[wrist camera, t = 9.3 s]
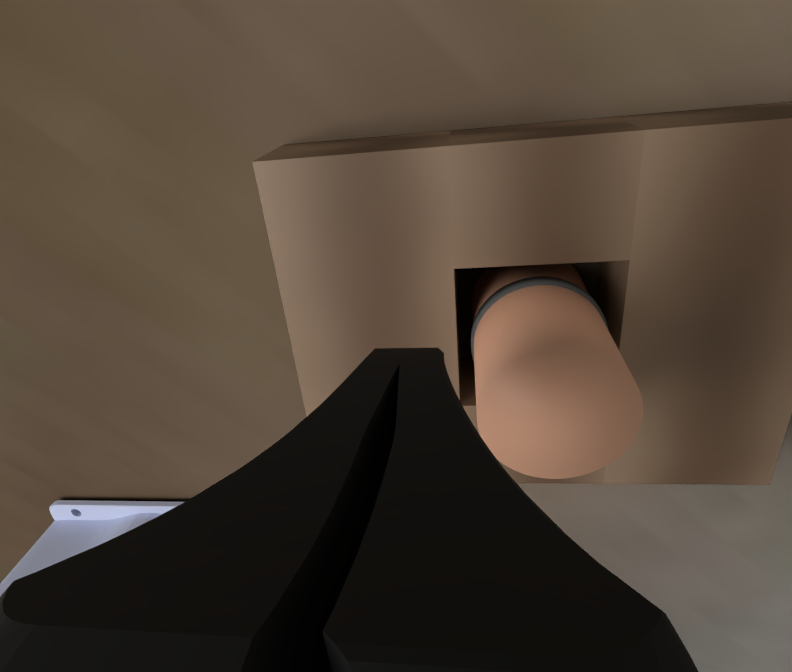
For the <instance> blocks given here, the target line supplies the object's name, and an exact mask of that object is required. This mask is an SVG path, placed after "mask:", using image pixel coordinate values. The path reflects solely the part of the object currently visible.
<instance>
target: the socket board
mask: <svg viewBox="0 0 792 672" xmlns="http://www.w3.org/2000/svg"><path fill="white" fill-rule="evenodd" d="M253 167H254V171H255V176H256V181H257V185H258V190H259V195H260V200H261V204H262V209H263V214H264V218H265V223H266V228H267V232H268V237H269V242H270V247H271V251H272V256H273V261H274V265H275V270H276V275H277V279H278V284H279V289H280V294H281V298H282V303H283V308H284V312H285V317H286V322H287V326H288V331H289V336H290V341H291V345H292V350H293V355H294V359H295V364H296V369H297V373H298V378H299V383H300V388H301V392H302V397H303V402H304V406H305V411H306V416H308V415H309V414H310V413H312V412H313V411H314V410H315V409H316V408H317V407H318V406H319V405H320V404H322V403H323V402H324V401H325V400H326V399H327V398H328V397H329V396H330V395H331V393H332V392H333V391H334V390H335V389H336V388H337V387H338V386H339V385H340V384H341V383H342V382H343V381H344V380H345V379H346V378H347V377H348V376H349V375H350V374H351V373H352V372H353V371H354V370H355V369H356V368H357V366H358V365H359V364H360V363H361V362H362V361H363V360H364V359H365V358H366V357H367V356H368V355H369V354H370V353H371V352H372V351H373V350H374V349H375V348H439V349H440V350H441V351H442V352H443V353H444V362H445V366H446V369H447V373H448V375H449V378H450V380H451V383H452V385H453V388H454V390H455V392H456V394H457V396H458V398H459V400H460V402H461V404H462V406H463V408H464V410H465V411H466V413H467V415H468V417H469V418H470V420H471V422H472V423H473V425H474V427H475V428H476V430H477V431H478V433H479V430H478V426H477V411H476V389H475V367H474V361H473V360H472V361H460V347H459V324H458V300H457V277H456V269H461V268H481V267H502V266H522V265H543V264H563V263H584V262H602V265H601V276H600V287H599V298H598V306H599V308H600V309H601V311H602V313H603V315H604V318H605V320H606V323H607V326H608V331H609V333H610V335H611V336H612V338H613V340H614V342H615V344H616V346H617V348H618V350H619V352H620V353H621V355H622V357H623V359H624V361H625V363H626V365H627V367H628V369H629V371H630V372H631V374H632V376H633V378H634V380H635V382H636V384H637V386H638V388H639V390H640V393H641V396H642V400H643V419H642V423H641V427H640V429H639V432H638V434H637V436H636V438H635V439H634V441H633V442H632V444H631V445H630V446H629V447H628V449H627V450H626V451H625V452H624V453H623V454H622V455H621V456H619V457H618V458H617V459H616V460H614V461H613V462H611V463H610V464H608V465H606V466H605V467H603V468H601V469H599V470H596V471H594V472H591V473H588V474H585V475H582V476H577V477H572V478H565V479H546V478H538V477H533V476H529V475H525V474H522V473H520V472H517V471H515V470H513V469H511V468H509V467H507V466H506V465H504V464H503V463H501V462H500V461H499V460H498V461H499V463H500V464H501V465H502V466H503V468H504V469H505V470H506V471H507V473H508V474H509V475H510V476H511V477H512V479H513V480H514V481H515V482H516V483H591V484H738V485H769V484H770V481H771V478H772V475H773V472H774V468H775V465H776V462H777V459H778V456H779V452H780V449H781V446H782V443H783V440H784V437H785V433H786V430H787V427H788V424H789V421H790V418H791V414H792V102H784V103H772V104H760V105H748V106H737V107H725V108H713V109H701V110H689V111H678V112H666V113H654V114H642V115H631V116H619V117H607V118H595V119H584V120H572V121H560V122H548V123H536V124H525V125H513V126H501V127H489V128H478V129H466V130H454V131H442V132H431V133H419V134H407V135H395V136H383V137H372V138H360V139H348V140H336V141H325V142H313V143H301V144H289V145H283V146H281V147H279V148H277V149H275V150H273V151H272V152H270V153H268V154H266V155H264V156H262V157H261V158H259V159H257V160H255V161H253ZM479 435H480V434H479Z"/></svg>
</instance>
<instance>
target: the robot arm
mask: <svg viewBox="0 0 792 672" xmlns="http://www.w3.org/2000/svg"><path fill="white" fill-rule="evenodd" d="M49 510H50V513H51V515H52V516H53V518H54V520H55V521H54V522H53V523H52V524H51V526H50V527H49V528H48V529H47V530H46V531H45V532H44V534H43V535H42V536H41V537H40V538H39V539H38V541H37V542H36V543H35V544H34V545H33V546H32V548H31V549H30V550H29V551H28V552H27V553H26V555H25V556H24V557H23V558H22V559H21V560H20V562H19V563H18V564H17V565H16V566H15V567H14V568H13V570H12V571H11V572H10V573H9V574H8V575H7V577H6V578H5V579H4V580H3V581H2V582H1V584H0V672H698V670H697V668H696V666H695V665H694V663H693V661H692V659H691V657H690V655H689V653H688V651H687V650H686V648H685V646H684V644H683V643H682V641H681V639H680V637H679V636H678V634H677V632H676V631H675V629H674V627H673V625H672V624H671V622H670V620H669V619H668V617H667V615H666V614H665V613H664V612H663V611H662V610H660V609H659V608H658V607H656V606H655V605H654V604H652V603H651V602H650V601H648V600H647V599H646V598H644V597H643V596H642V595H640V594H639V593H638V592H636V591H635V590H634V589H632V588H631V587H630V586H628V585H627V584H626V583H624V582H623V581H622V580H621V579H619V578H618V577H617V576H615V575H614V574H613V573H611V572H610V571H609V570H607V569H606V568H605V567H603V566H602V565H601V564H599V563H598V562H597V561H596V560H595V559H593V558H592V557H591V556H590V555H589V554H588V553H587V552H585V551H584V550H583V549H582V548H581V547H580V546H579V545H578V544H576V543H575V542H574V541H573V540H572V539H571V538H570V537H568V536H567V535H566V534H565V533H564V532H563V531H562V530H561V529H560V528H559V527H558V526H557V525H556V524H555V523H554V522H553V521H552V520H551V519H550V518H549V517H548V516H547V515H546V514H545V513H544V512H543V511H542V510H541V509H540V508H539V507H538V506H537V505H536V504H535V503H534V502H533V501H532V500H531V499H530V498H529V497H528V496H527V495H526V494H525V493H524V491H523V490H522V489H521V488H520V487H519V486H518V484H517V483H516V482H515V481H514V480H513V479H512V477H511V476H510V475H509V474H508V473H507V471H506V470H505V469H504V468H503V466H502V465H501V464H500V463H499V461H498V460H497V459H496V457H495V456H494V455H493V453H492V452H491V451H490V449H489V448H488V446H487V445H486V444H485V442H484V441H483V439H482V438H481V436H480V435H479V433H478V431H477V430H476V428H475V427H474V425H473V423H472V422H471V420H470V418H469V417H468V415H467V413H466V411H465V410H464V408H463V406H462V404H461V402H460V400H459V398H458V396H457V394H456V392H455V390H454V388H453V385H452V383H451V380H450V378H449V375H448V373H447V369H446V366H445V362H444V353H443V352H442V351H441V350H440V349H439V348H375V349H374V350H373V351H372V352H371V353H370V354H369V355H368V356H367V357H366V358H365V359H364V360H363V361H362V362H361V363H360V364H359V365H358V366H357V368H356V369H355V370H354V371H353V372H352V373H351V374H350V375H349V376H348V377H347V378H346V379H345V380H344V381H343V382H342V383H341V384H340V385H339V386H338V387H337V388H336V389H335V390H334V391H333V392H332V393H331V395H330V396H329V397H328V398H327V399H326V400H325V401H324V402H323V403H322V404H320V405H319V406H318V407H317V408H316V409H315V410H314V411H313V412H312V413H310V414H309V415H308V416H307V417H306V418H305V419H304V420H303V421H301V422H300V423H299V424H298V425H297V426H296V427H295V428H294V429H293V430H291V431H290V432H289V433H288V434H286V435H285V436H284V437H283V438H281V439H280V440H279V441H278V442H276V443H275V444H274V445H272V446H271V447H270V448H268V449H267V450H265V451H264V452H263V453H261V454H260V455H259V456H257V457H256V458H254V459H253V460H252V461H250V462H249V463H247V464H246V465H244V466H243V467H241V468H240V469H238V470H237V471H235V472H234V473H232V474H230V475H229V476H227V477H225V478H224V479H222V480H220V481H219V482H217V483H216V484H214V485H212V486H211V487H209V488H207V489H206V490H204V491H203V492H201V493H199V494H198V495H196V496H194V497H193V498H191V499H189V500H188V501H186V502H164V501H85V500H57V501H55V502H54V503H53V504H52V505H51V506H50V508H49Z"/></svg>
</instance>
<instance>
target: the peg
mask: <svg viewBox="0 0 792 672" xmlns="http://www.w3.org/2000/svg"><path fill="white" fill-rule="evenodd" d="M472 322H473V325H472V329H471V351H472V357H473V361H474V367H475V389H476V411H477V426H478V430H479V434H480V436H481V438H482V439H483V441H484V442H485V444H486V445H487V446H488V448H489V449H490V451H491V452H492V453H493V455H494V456H495V457H496V459H497V460H499V461H500V462H501V463H503V464H504V465H506V466H507V467H509V468H511V469H513V470H515V471H517V472H520V473H522V474H525V475H529V476H533V477H538V478H546V479H565V478H572V477H577V476H582V475H585V474H588V473H591V472H594V471H596V470H599V469H601V468H603V467H605V466H606V465H608V464H610V463H611V462H613V461H614V460H616V459H617V458H618V457H619V456H621V455H622V454H623V453H624V452H625V451H626V450H627V449H628V447H629V446H630V445H631V444H632V442H633V441H634V439H635V438H636V436H637V434H638V432H639V429H640V427H641V423H642V419H643V400H642V396H641V393H640V390H639V388H638V386H637V384H636V382H635V380H634V378H633V376H632V374H631V372H630V371H629V369H628V367H627V365H626V363H625V361H624V359H623V357H622V355H621V353H620V352H619V350H618V348H617V346H616V344H615V342H614V340H613V338H612V336H611V335H610V333H609V331H608V326H607V323H606V320H605V318H604V315H603V313H602V311H601V309H600V308H599V306H598V304H597V303H596V301H595V300H594V299H593V298H592V296H591V295H590V294H589V293H588V291H587V289H586V287H585V285H584V283H583V281H582V279H581V278H580V276H579V274H578V272H577V271H576V269H575V268H574V267H573V266H572V265H571V264H570V263H563V264H543V265H522V266H502V267H486V269H485V270H484V271H483V272H482V273H481V275H480V276H479V278H478V280H477V282H476V284H475V287H474V289H473V294H472Z"/></svg>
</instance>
